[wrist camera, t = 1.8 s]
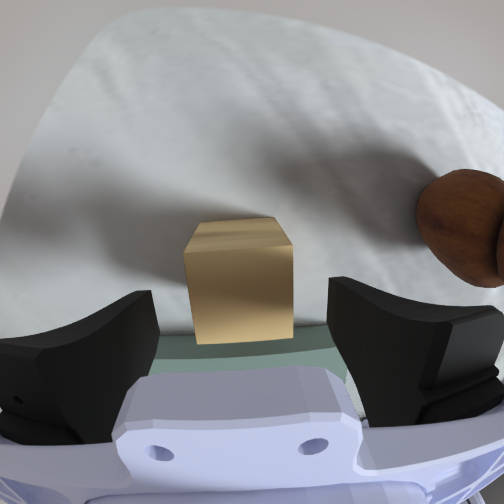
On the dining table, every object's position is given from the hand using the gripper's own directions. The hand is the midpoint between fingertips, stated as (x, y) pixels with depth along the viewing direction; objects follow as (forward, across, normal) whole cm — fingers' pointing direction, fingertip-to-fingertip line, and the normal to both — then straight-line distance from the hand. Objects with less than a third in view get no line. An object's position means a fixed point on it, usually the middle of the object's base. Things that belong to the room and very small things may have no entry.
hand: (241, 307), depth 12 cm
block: (+7, 0, 0) cm, 7 cm away
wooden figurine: (+7, -14, -2) cm, 16 cm away
